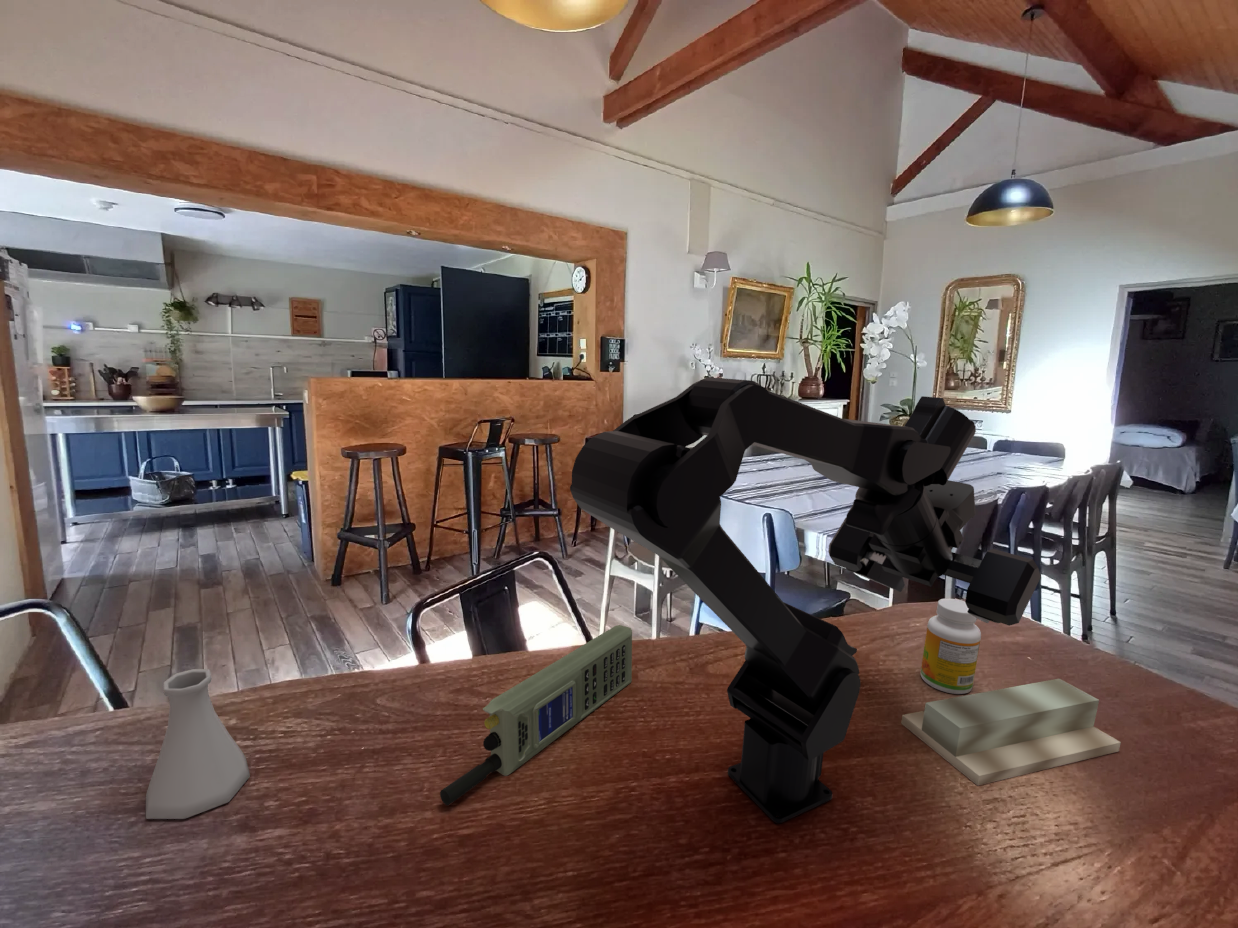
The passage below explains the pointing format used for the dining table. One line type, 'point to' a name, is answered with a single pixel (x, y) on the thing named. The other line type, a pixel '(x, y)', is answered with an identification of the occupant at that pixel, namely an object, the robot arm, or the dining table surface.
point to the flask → (193, 753)
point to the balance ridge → (1013, 730)
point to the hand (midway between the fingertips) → (942, 602)
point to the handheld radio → (549, 705)
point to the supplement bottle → (951, 648)
